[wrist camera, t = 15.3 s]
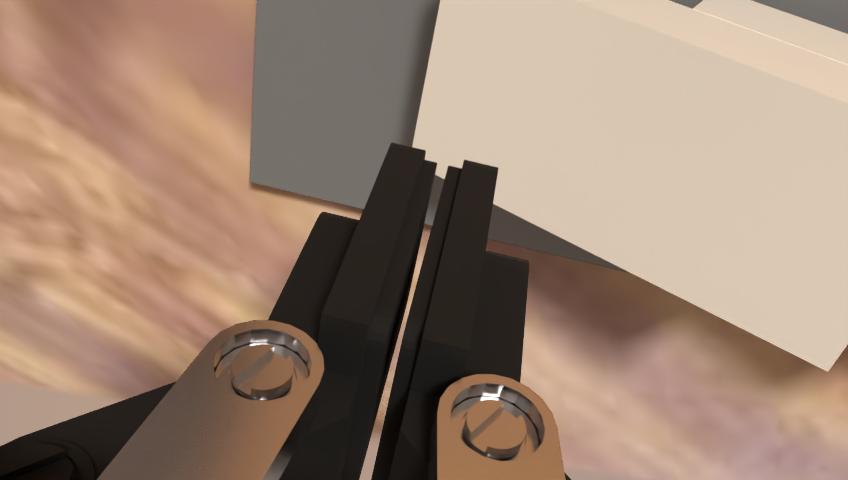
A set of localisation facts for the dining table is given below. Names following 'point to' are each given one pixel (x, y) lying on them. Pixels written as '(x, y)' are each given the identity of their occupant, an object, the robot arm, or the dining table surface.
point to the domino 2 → (780, 26)
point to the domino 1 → (659, 150)
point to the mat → (375, 99)
